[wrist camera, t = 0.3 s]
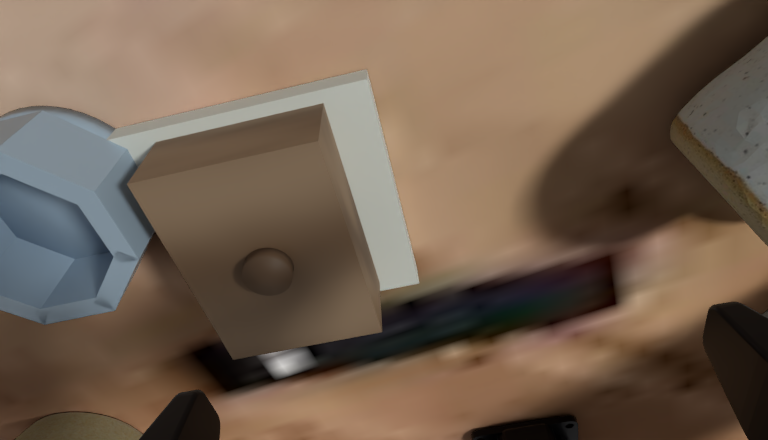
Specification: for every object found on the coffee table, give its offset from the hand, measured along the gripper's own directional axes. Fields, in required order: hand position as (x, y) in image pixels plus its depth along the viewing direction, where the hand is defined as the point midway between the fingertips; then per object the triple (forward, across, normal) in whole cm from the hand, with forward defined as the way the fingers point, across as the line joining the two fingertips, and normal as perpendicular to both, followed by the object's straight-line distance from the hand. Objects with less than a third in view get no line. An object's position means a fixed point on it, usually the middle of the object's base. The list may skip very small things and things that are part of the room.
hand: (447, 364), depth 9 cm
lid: (+12, +6, +4) cm, 14 cm away
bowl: (+13, +14, +1) cm, 19 cm away
